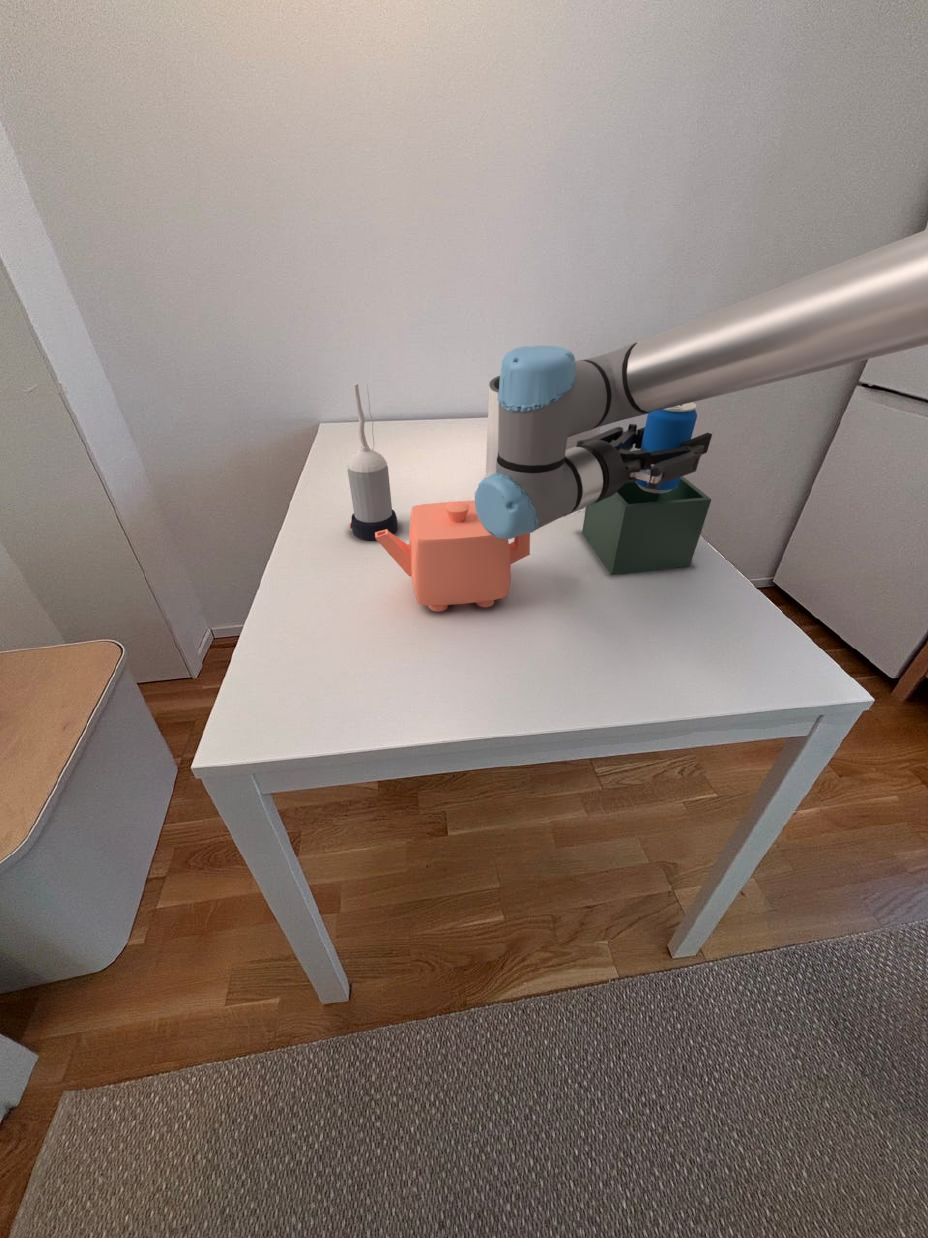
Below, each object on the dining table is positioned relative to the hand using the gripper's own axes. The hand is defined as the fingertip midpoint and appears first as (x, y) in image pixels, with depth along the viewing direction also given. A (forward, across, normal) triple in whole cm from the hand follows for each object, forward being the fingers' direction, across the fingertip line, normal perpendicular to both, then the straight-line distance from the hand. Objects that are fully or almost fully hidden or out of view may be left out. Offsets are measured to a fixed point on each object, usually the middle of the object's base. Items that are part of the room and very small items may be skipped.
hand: (685, 435), depth 77 cm
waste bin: (-3, -2, -19) cm, 20 cm away
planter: (+3, -31, -19) cm, 37 cm away
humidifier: (-34, -36, -19) cm, 53 cm away
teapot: (-34, -12, -19) cm, 41 cm away
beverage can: (-5, 0, -7) cm, 8 cm away
